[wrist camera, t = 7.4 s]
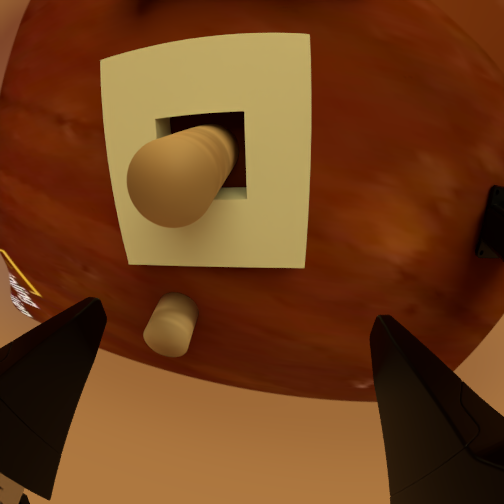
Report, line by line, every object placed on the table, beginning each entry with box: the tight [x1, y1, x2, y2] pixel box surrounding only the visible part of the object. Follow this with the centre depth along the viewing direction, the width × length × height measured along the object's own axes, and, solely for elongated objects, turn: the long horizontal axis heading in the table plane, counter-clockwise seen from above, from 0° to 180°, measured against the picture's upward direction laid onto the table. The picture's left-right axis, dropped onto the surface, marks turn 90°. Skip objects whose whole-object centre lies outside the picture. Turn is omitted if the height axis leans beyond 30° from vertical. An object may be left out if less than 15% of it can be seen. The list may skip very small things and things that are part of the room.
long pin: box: [127, 123, 239, 228], centre depth 14 cm, size 4×4×8 cm
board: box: [100, 33, 311, 268], centre depth 16 cm, size 12×14×2 cm
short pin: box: [144, 292, 199, 357], centre depth 22 cm, size 4×4×4 cm
